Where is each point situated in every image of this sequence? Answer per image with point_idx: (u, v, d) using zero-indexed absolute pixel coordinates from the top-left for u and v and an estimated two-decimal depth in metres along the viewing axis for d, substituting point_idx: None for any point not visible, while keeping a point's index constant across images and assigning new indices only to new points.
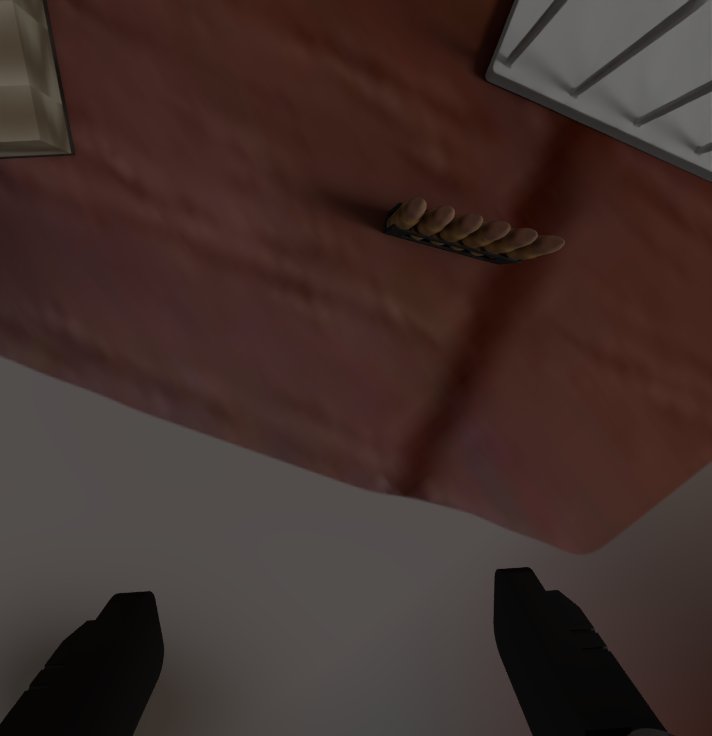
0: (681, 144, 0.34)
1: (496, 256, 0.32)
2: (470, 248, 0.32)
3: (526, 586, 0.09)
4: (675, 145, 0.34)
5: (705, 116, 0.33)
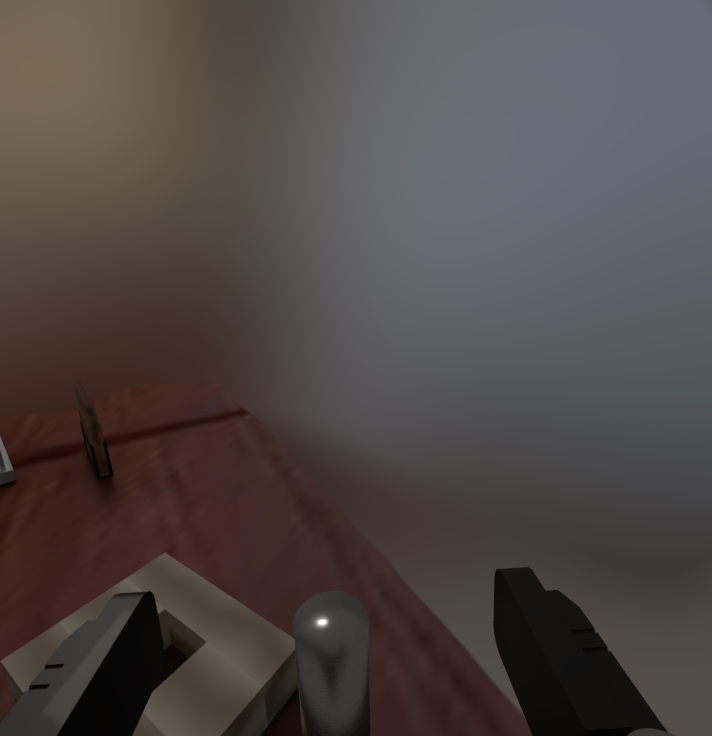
0: None
1: None
2: None
3: (526, 586, 0.09)
4: None
5: None
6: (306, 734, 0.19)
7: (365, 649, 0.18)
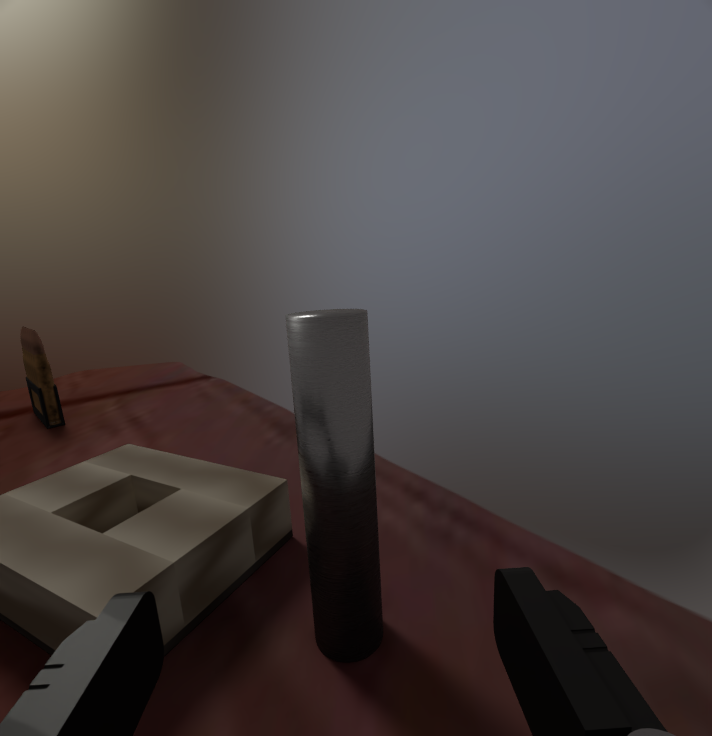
0: None
1: None
2: None
3: (526, 586, 0.09)
4: None
5: None
6: (305, 453, 0.17)
7: (366, 333, 0.16)
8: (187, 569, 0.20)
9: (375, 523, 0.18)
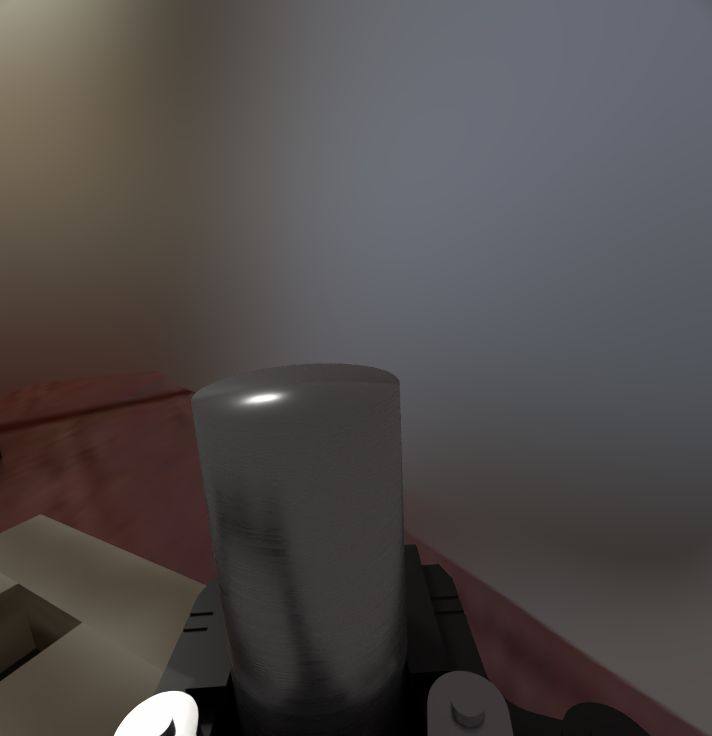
0: None
1: None
2: None
3: (405, 560, 0.10)
4: None
5: None
6: (246, 726, 0.07)
7: (397, 441, 0.06)
8: None
9: None
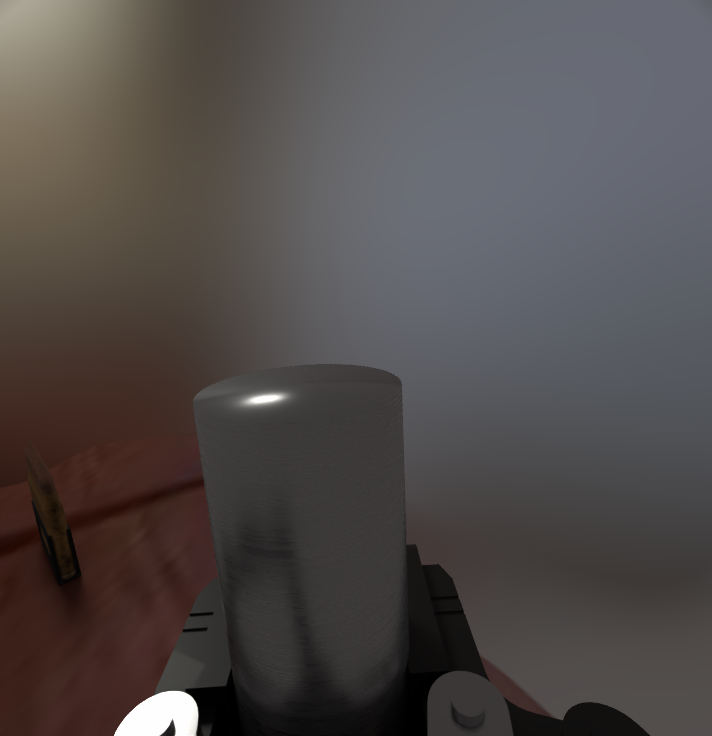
0: None
1: None
2: None
3: None
4: None
5: None
6: (248, 728, 0.07)
7: (400, 442, 0.06)
8: None
9: None
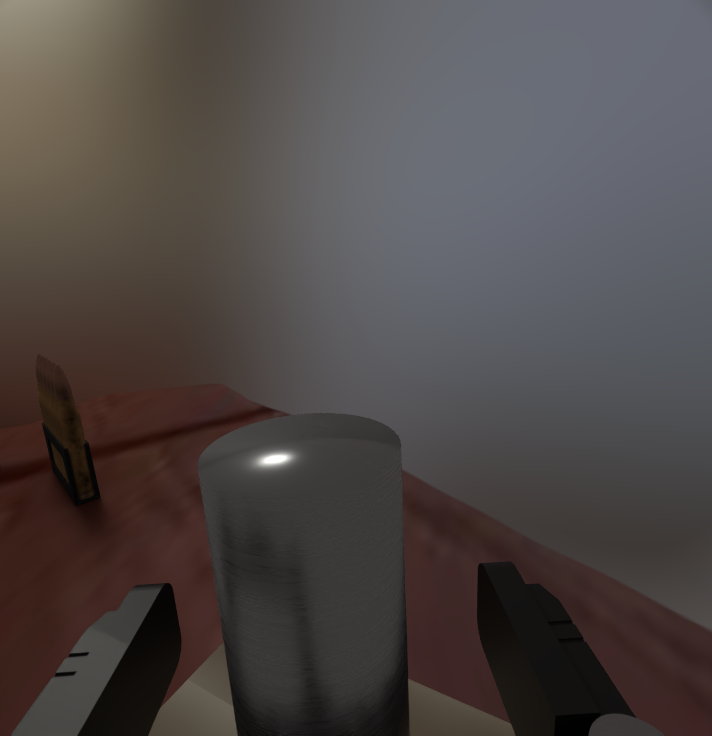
0: None
1: None
2: None
3: (507, 579, 0.09)
4: None
5: None
6: None
7: (399, 503, 0.06)
8: None
9: None
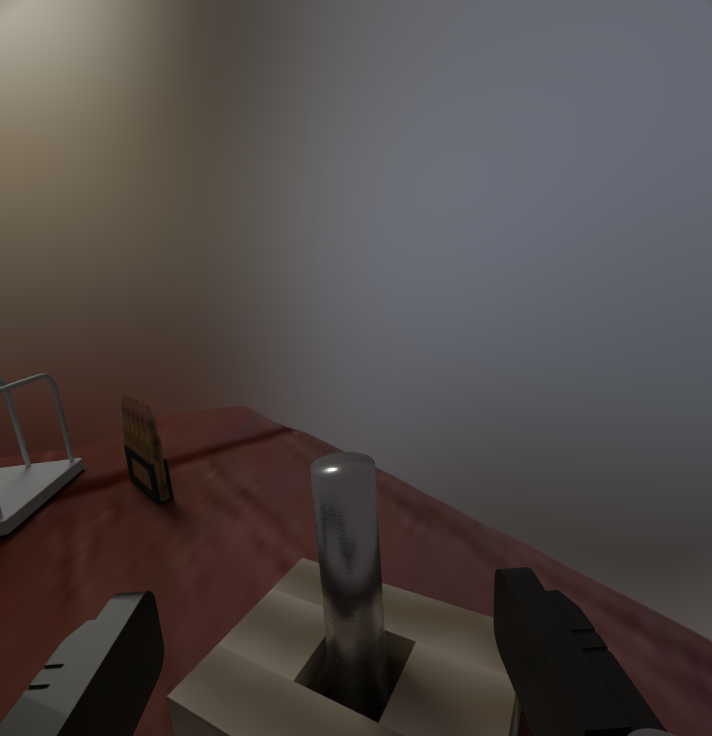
0: None
1: None
2: None
3: (526, 586, 0.09)
4: None
5: None
6: (326, 576, 0.21)
7: (374, 482, 0.21)
8: None
9: (382, 627, 0.22)
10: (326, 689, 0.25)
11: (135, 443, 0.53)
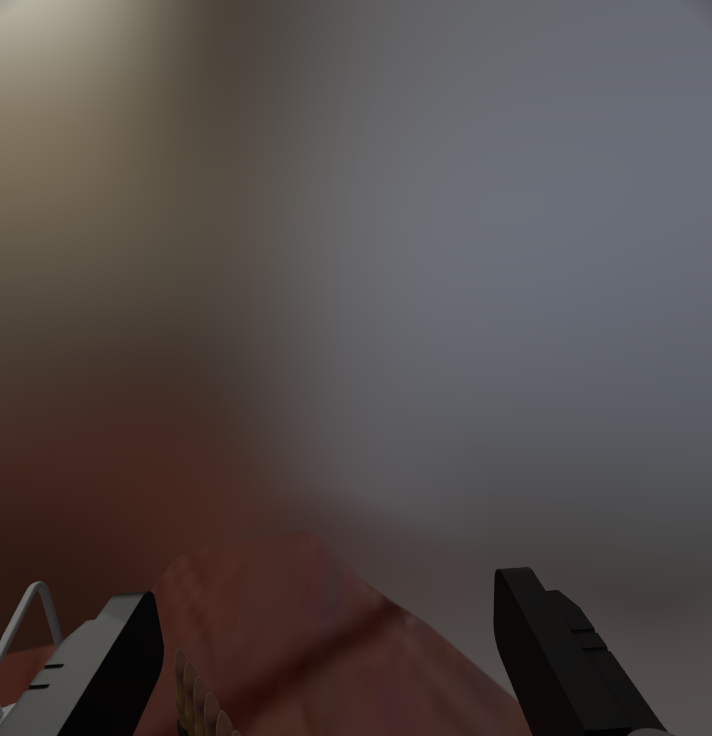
0: None
1: None
2: None
3: (526, 586, 0.09)
4: None
5: None
6: None
7: None
8: None
9: None
10: None
11: None
